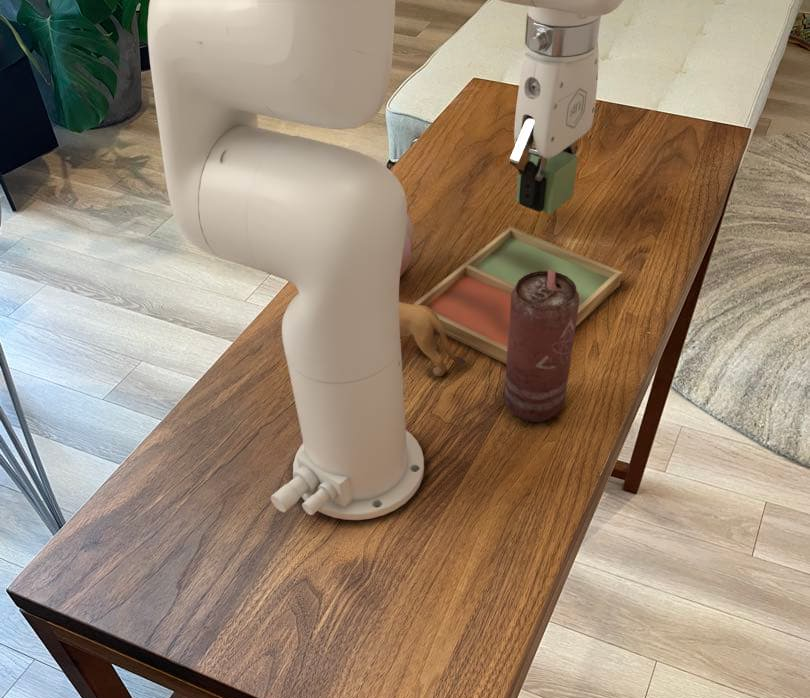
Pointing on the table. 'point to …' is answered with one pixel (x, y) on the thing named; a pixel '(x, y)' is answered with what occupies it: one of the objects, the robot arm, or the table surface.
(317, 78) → the robot arm
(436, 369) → the lion figurine
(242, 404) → the table surface
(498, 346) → the sorting tray
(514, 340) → the can
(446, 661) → the table surface
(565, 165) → the green block
